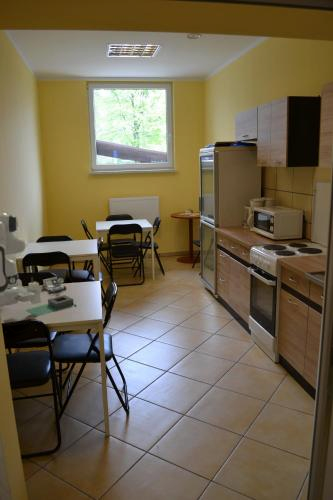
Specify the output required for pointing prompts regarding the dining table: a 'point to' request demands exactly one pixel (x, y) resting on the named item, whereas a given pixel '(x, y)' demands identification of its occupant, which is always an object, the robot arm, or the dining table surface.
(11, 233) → the robot arm
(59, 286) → the grey mechanical device
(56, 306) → the grey square tray
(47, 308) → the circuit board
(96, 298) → the dining table surface
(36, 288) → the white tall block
